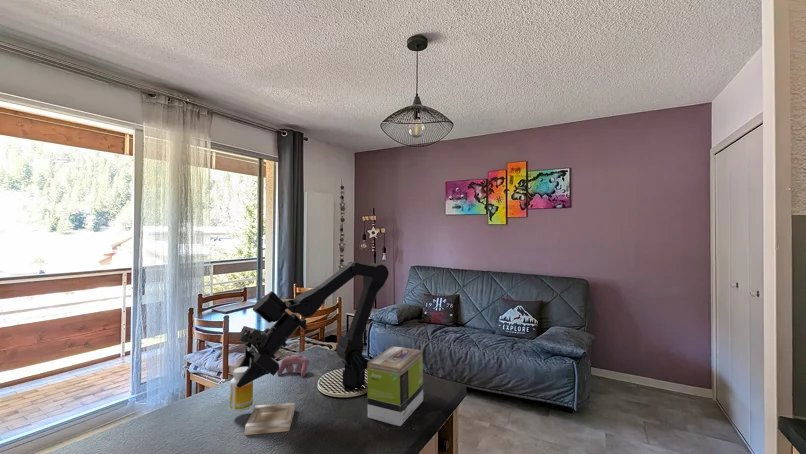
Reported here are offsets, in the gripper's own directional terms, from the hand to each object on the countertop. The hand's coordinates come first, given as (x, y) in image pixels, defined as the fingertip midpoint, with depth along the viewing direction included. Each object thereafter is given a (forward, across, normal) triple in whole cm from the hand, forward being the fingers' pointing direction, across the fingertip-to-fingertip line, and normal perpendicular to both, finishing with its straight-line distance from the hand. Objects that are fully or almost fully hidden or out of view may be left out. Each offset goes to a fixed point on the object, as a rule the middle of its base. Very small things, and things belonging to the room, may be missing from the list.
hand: (236, 382), depth 87 cm
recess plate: (+1, +8, +11) cm, 14 cm away
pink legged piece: (-8, -20, +21) cm, 30 cm away
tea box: (-20, +20, +33) cm, 43 cm away
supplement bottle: (+4, 0, +6) cm, 7 cm away
